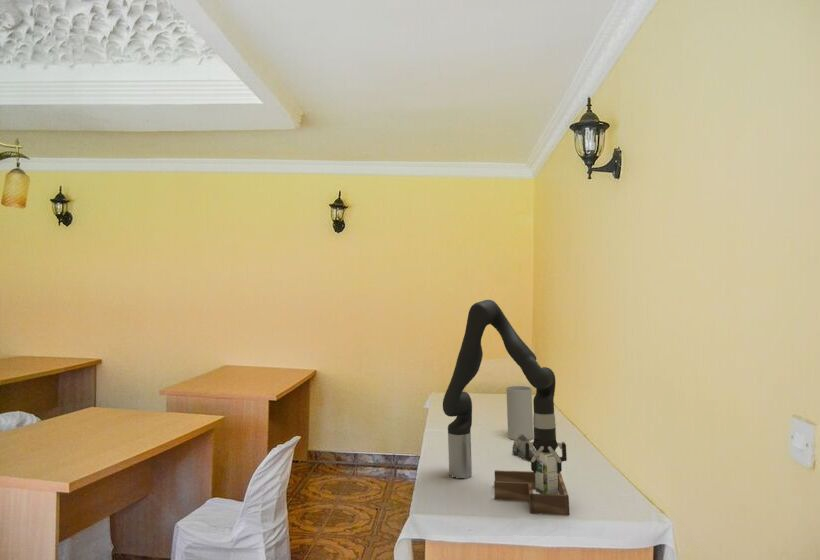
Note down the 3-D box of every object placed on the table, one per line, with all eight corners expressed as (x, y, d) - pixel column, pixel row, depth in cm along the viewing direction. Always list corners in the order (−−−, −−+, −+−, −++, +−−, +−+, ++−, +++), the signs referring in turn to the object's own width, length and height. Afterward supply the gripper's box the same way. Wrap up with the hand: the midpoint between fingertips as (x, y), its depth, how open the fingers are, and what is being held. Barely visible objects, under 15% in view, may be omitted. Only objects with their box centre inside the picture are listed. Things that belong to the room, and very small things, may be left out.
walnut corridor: (495, 486, 189) (494, 470, 189) (561, 488, 185) (560, 472, 185) (494, 511, 167) (493, 493, 167) (569, 514, 163) (568, 496, 163)
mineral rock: (538, 462, 215) (537, 439, 215) (512, 461, 217) (511, 438, 217) (536, 453, 227) (535, 431, 228) (512, 452, 229) (511, 430, 230)
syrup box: (535, 491, 176) (533, 450, 176) (548, 488, 178) (546, 447, 179) (545, 497, 170) (544, 454, 171) (559, 494, 173) (557, 451, 173)
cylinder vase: (523, 442, 244) (521, 391, 245) (503, 438, 253) (501, 388, 254) (538, 437, 252) (536, 387, 253) (518, 433, 262) (516, 385, 262)
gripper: (564, 422, 177) (566, 469, 177) (523, 422, 180) (524, 468, 179) (567, 428, 170) (569, 477, 169) (524, 427, 172) (526, 475, 172)
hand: (546, 472), depth 174 cm, fingers closed on syrup box, 7 cm apart
